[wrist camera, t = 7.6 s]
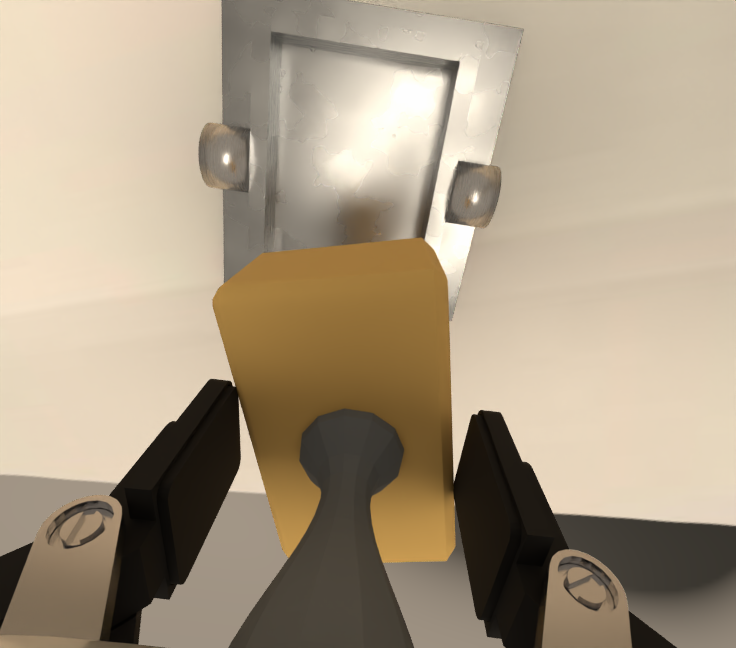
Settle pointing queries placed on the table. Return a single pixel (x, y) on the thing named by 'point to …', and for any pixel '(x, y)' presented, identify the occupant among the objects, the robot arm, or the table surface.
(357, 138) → the grey metal square tray
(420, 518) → the rubber stamp
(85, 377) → the table surface
